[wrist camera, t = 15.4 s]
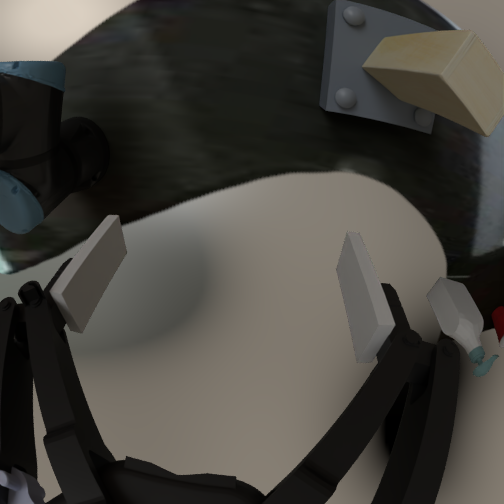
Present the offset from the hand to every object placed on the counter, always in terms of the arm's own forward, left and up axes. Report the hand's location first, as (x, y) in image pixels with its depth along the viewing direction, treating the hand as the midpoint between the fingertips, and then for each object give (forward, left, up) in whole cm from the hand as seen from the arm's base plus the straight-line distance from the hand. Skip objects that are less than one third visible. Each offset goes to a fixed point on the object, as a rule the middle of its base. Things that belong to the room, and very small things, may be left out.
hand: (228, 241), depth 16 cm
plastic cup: (+86, -44, -35) cm, 103 cm away
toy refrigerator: (+20, +13, -29) cm, 37 cm away
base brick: (+19, +13, -35) cm, 42 cm away
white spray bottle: (+53, -33, -35) cm, 72 cm away
